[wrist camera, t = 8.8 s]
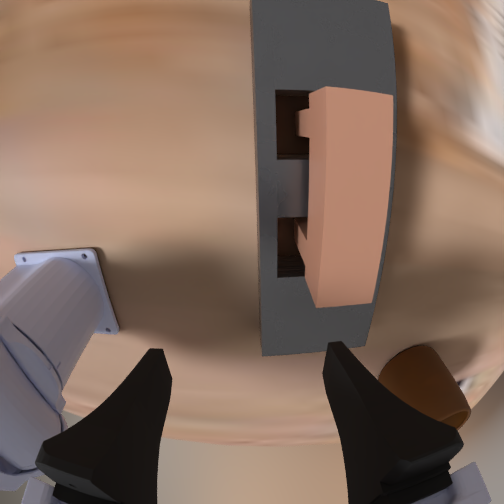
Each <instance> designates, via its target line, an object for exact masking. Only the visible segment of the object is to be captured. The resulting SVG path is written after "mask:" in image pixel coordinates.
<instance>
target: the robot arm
mask: <svg viewBox="0 0 504 504" xmlns="http://www.w3.org/2000/svg"><path fill="white" fill-rule="evenodd" d="M84 254H86V255H87V257H85V256H84ZM25 258H26V259H25ZM14 259H15V263H16V267H15V268H14V269H12V270H11V271H10V272H9V273H8V274H7V275H5V276H4V277H3V278H2V279H1V280H0V490H4V491H16V490H17V489H18V488H19V487H20V486H21V485H22V484H23V483H24V482H25V481H27V480H29V481H28V484H27V487H26V490H25V493H24V496H23V499H22V502H21V504H157V472H158V458H159V447H160V441H161V436H162V431H163V427H164V423H165V418H166V414H167V410H168V406H169V402H170V396H171V387H172V376H171V373H170V370H169V367H168V364H167V361H166V358H165V355H164V351H163V349H154V348H150V349H149V350H148V351H147V352H146V354H145V355H144V356H143V357H142V359H141V360H140V361H139V363H138V364H137V365H136V366H135V368H134V369H133V370H132V371H131V373H130V374H129V375H128V376H127V377H126V379H125V380H124V381H123V382H122V383H121V384H120V385H119V387H118V388H117V389H116V390H115V391H114V392H113V393H112V394H111V395H110V396H109V397H108V398H107V399H106V400H105V401H104V402H103V403H102V404H101V405H100V406H99V407H97V408H96V409H95V410H94V411H93V412H91V413H90V414H89V415H87V416H86V417H85V418H83V419H82V420H81V421H79V422H78V423H76V424H75V425H73V426H72V427H70V428H68V426H67V423H66V421H65V419H64V417H63V416H62V414H61V412H62V410H63V408H64V406H65V404H66V401H65V400H64V398H63V396H62V393H61V392H62V390H63V388H64V386H65V384H66V382H67V381H68V379H69V377H70V375H71V373H72V371H73V369H74V367H75V365H76V363H77V362H78V360H79V358H80V356H81V354H82V352H83V351H84V349H85V347H86V345H87V343H88V342H89V340H90V338H91V336H92V335H93V333H101V334H118V332H119V326H118V323H117V320H116V317H115V314H114V311H113V308H112V305H111V302H110V299H109V296H108V293H107V289H106V286H105V283H104V279H103V276H102V272H101V268H100V265H99V261H98V257H97V253H96V251H95V250H94V249H91V248H86V249H70V250H55V251H39V252H25V253H17V254H16V255H15V256H14ZM108 328H109V329H108ZM322 374H323V379H324V385H325V390H326V394H327V397H328V400H329V404H330V407H331V410H332V413H333V416H334V419H335V422H336V426H337V429H338V432H339V436H340V440H341V445H342V451H343V457H344V463H345V470H346V478H347V488H348V502H349V504H488V503H490V502H491V498H490V495H489V493H488V490H487V488H486V485H485V483H484V481H483V478H482V476H481V474H480V471H479V469H478V467H477V465H476V462H472V463H470V464H469V465H467V466H465V467H463V468H461V469H459V470H457V471H455V472H454V473H452V474H451V475H450V474H449V472H448V470H449V469H450V468H451V466H450V464H449V461H450V460H451V459H452V458H453V457H454V456H455V455H456V454H457V453H458V452H459V451H460V450H461V449H462V447H463V445H464V444H463V441H462V439H461V437H460V435H459V433H458V431H457V429H456V428H455V427H453V426H450V425H447V424H445V423H442V422H440V421H437V420H435V419H433V418H431V417H429V416H427V415H425V414H423V413H421V412H420V411H418V410H416V409H415V408H413V407H411V406H410V405H408V404H407V403H405V402H404V401H402V400H401V399H400V398H398V397H397V396H396V395H394V394H393V393H392V392H391V391H389V390H388V389H387V388H386V387H385V386H384V385H382V384H381V383H380V382H379V381H378V380H377V379H376V378H375V377H374V376H373V375H372V374H371V373H370V372H369V371H368V370H367V369H366V368H365V367H364V366H363V365H362V364H361V363H360V361H359V360H358V359H357V358H356V357H355V356H354V355H353V354H352V352H351V351H350V350H349V349H348V348H347V347H346V345H345V344H344V343H343V342H342V341H336V342H328V346H327V352H326V357H325V362H324V368H323V373H322ZM44 474H45V475H47V476H48V477H49V478H51V479H52V480H53V481H55V482H56V485H55V487H53V486H51V485H49V484H47V483H45V482H43V481H41V480H38V479H36V478H34V477H37V476H41V475H44Z"/></svg>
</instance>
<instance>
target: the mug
mask: <svg viewBox="0 0 504 504" xmlns="http://www.w3.org/2000/svg"><path fill="white" fill-rule="evenodd" d="M378 381H379V382H380V383H381V384H382V385H384V386H385V387H386V388H387V389H388V390H389V391H391V392H392V393H393V394H394V395H396V396H397V397H398V398H400V399H401V400H402V401H404V402H405V403H407V404H408V405H410V406H411V407H413V408H415V409H416V410H418V411H420V412H421V413H423V414H425V415H427V416H429V417H431V418H433V419H435V420H437V421H440V422H442V423H445V424H447V425H450V426H453V427H455V428H456V429H457V430H459V429H460V428H461V427H462V426H463V424H464V423H465V422H466V421H467V420H468V418H469V417H470V414H471V409H470V406H469V405H468V402H467V400H466V398H465V396H464V394H463V392H462V391H461V389H460V387H459V386H458V384H457V383H456V381H455V379H454V378H453V376H452V375H451V373H450V372H449V370H448V369H447V367H446V366H445V364H444V363H443V361H442V360H441V358H440V357H439V355H438V354H437V353H436V352H435V351H434V350H433V349H432V348H431V347H428V346H416V347H412V348H410V349H407V350H405V351H403V352H401V353H400V354H398V355H397V356H395V357H394V358H393V359H392V360H391V361H389V362H388V363H387V365H386V366H385V367H384V368H383V370H382V371H381V373H380V375H379V378H378Z"/></svg>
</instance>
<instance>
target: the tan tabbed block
mask: <svg viewBox="0 0 504 504" xmlns="http://www.w3.org/2000/svg"><path fill="white" fill-rule="evenodd" d="M295 135H297V136H303V137H308V138H310V142H309V202H308V218H295V222H294V240H295V243H296V245H297V247H298V250H299V252H300V254H301V257H302V259H303V261H304V264H305V280H306V282H307V285H308V288H309V290H310V293H311V296H312V298H313V301H314V304H315V306H316V308H323V307H335V306H346V305H357V304H367V303H372V300H373V295H374V290H375V285H376V280H377V275H378V270H379V264H380V258H381V252H382V246H383V240H384V233H385V225H386V218H387V209H388V200H389V190H390V179H391V165H392V146H393V95H388V94H382V93H376V92H370V91H363V90H355V89H347V88H338V87H327V86H326V87H323V88H321V89H319V90H316V91H314V92H312V93H310V94H309V109H305V110H301V111H297V112H295Z"/></svg>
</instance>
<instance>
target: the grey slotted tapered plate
mask: <svg viewBox="0 0 504 504" xmlns="http://www.w3.org/2000/svg"><path fill="white" fill-rule="evenodd" d="M250 24H251V50H252V77H253V105H254V135H255V166H256V200H257V236H258V274H259V315H260V338H261V350H262V356H275V355H289V354H301V353H312V352H322V351H327V346H328V342H336V341H342V342H343V343H344V344H345V345H346V347H347V348H354V347H361V346H365V344H366V340H367V336H368V332H369V329H370V325H371V321H372V316H373V312H374V308H375V304H376V299H377V294H378V290H379V285H380V280H381V275H382V269H383V264H384V258H385V252H386V246H387V239H388V232H389V225H390V217H391V208H392V199H393V189H394V177H395V161H396V138H397V94H396V71H395V57H394V46H393V37H392V28H391V21H390V14H389V8H388V3H384V2H381V1H377V0H250ZM326 86H327V87H338V88H347V89H355V90H363V91H370V92H376V93H382V94H388V95H393V146H392V165H391V179H390V190H389V200H388V209H387V218H386V225H385V233H384V240H383V246H382V252H381V258H380V264H379V270H378V275H377V280H376V285H375V290H374V295H373V300H372V303H367V304H357V305H346V306H335V307H323V308H316V306H315V304H314V301H313V298H312V296H311V293H310V290H309V288H308V285H307V282H306V280H305V264H304V261H303V259H302V257H301V255H295V256H277V218H281V217H308V202H309V154H277V145H276V105H275V95H278V96H309V94H310V93H312V92H314V91H316V90H319V89H321V88H323V87H326Z"/></svg>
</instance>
